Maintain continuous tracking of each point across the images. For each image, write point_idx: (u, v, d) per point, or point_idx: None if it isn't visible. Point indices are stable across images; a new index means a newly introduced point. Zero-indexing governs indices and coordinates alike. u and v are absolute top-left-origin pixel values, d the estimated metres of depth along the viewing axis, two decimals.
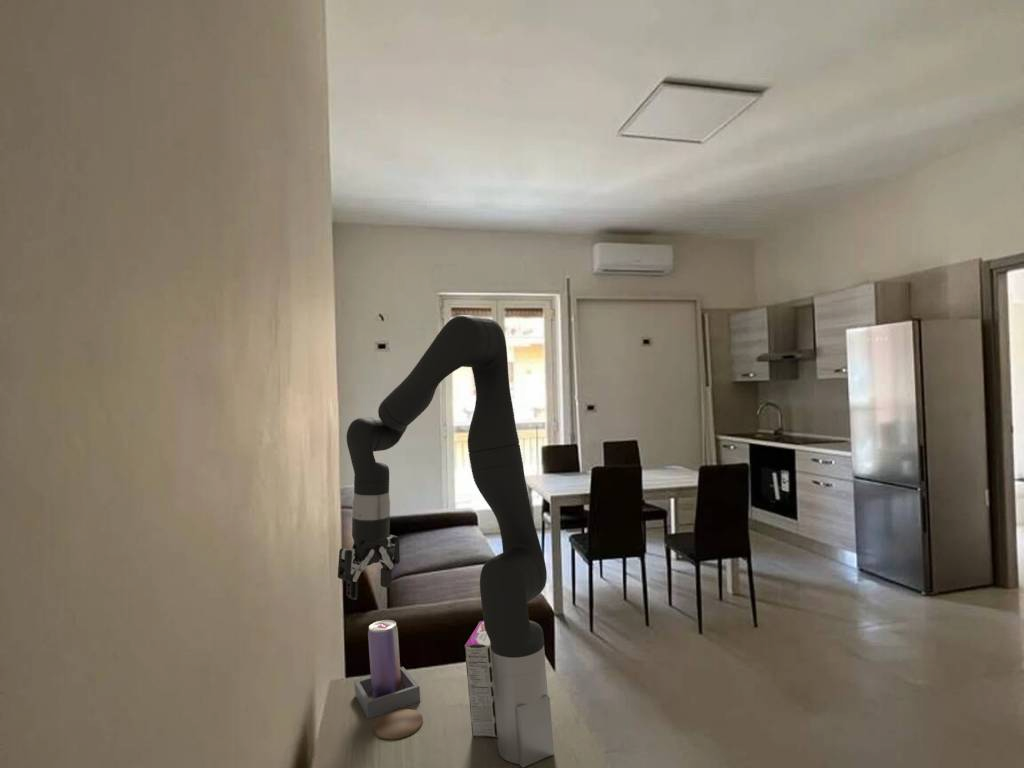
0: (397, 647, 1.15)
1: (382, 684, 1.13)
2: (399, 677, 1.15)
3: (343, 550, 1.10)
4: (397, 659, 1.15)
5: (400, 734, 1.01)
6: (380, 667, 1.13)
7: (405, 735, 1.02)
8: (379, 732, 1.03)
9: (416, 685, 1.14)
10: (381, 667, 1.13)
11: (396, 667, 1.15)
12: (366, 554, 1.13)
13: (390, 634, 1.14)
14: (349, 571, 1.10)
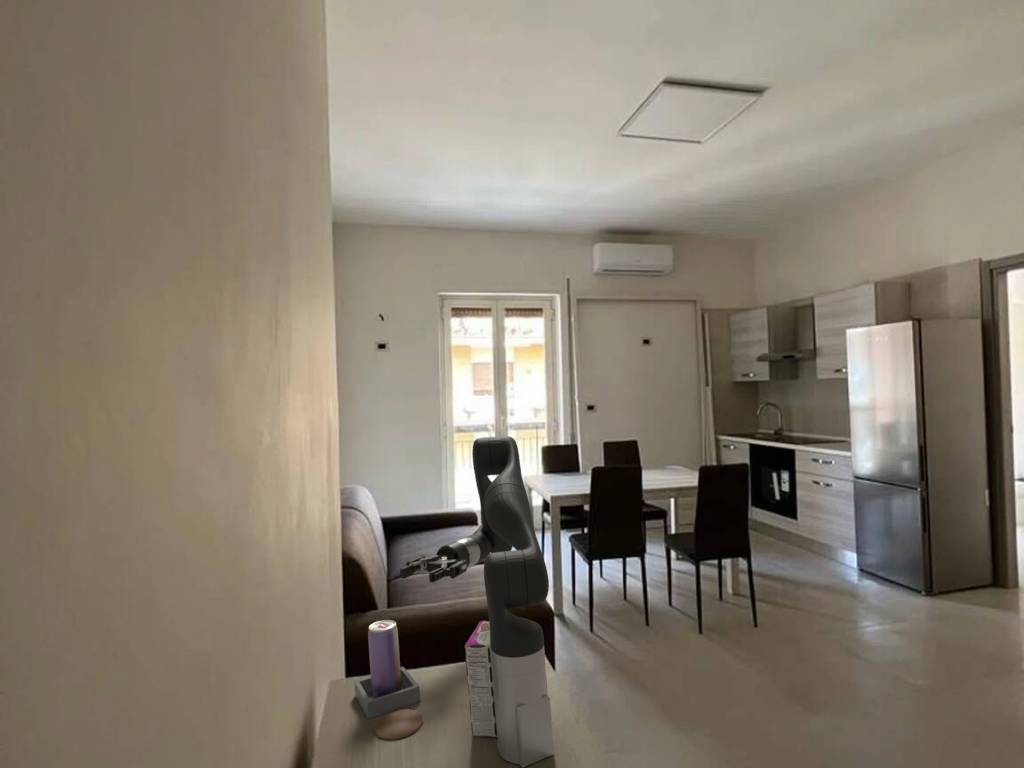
0: (397, 647, 1.15)
1: (382, 684, 1.13)
2: (399, 677, 1.15)
3: None
4: (397, 659, 1.15)
5: (400, 734, 1.01)
6: (380, 667, 1.13)
7: (405, 735, 1.02)
8: (379, 732, 1.03)
9: (416, 685, 1.14)
10: (381, 667, 1.13)
11: (396, 667, 1.15)
12: None
13: (390, 633, 1.14)
14: (412, 560, 1.34)
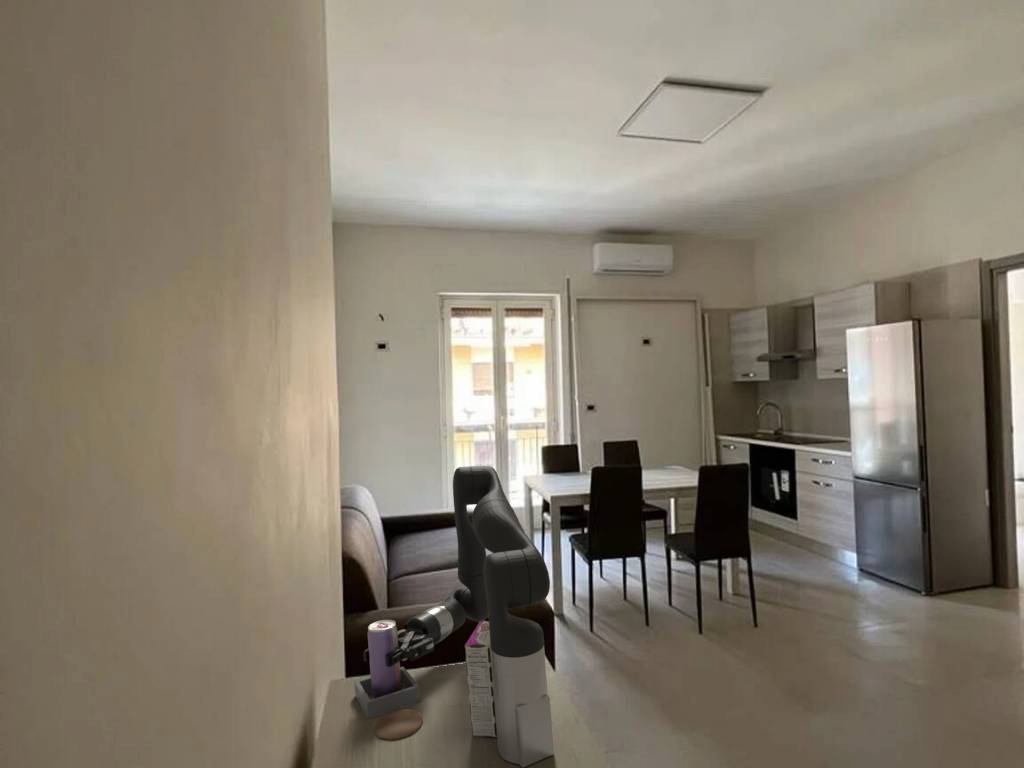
0: (396, 647, 1.15)
1: (382, 684, 1.13)
2: (399, 677, 1.15)
3: None
4: None
5: (400, 734, 1.01)
6: (380, 667, 1.13)
7: (405, 735, 1.02)
8: (379, 732, 1.03)
9: (416, 685, 1.14)
10: (381, 667, 1.13)
11: (396, 666, 1.15)
12: None
13: (389, 633, 1.14)
14: None
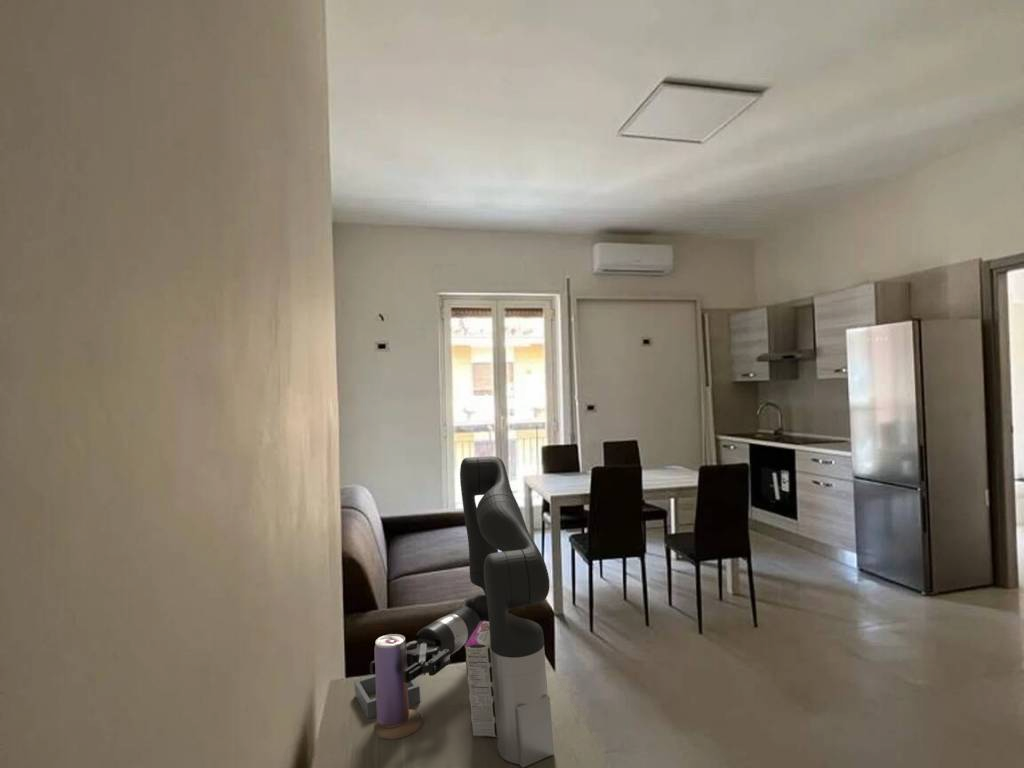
0: (405, 665, 1.06)
1: (388, 705, 1.03)
2: (406, 698, 1.06)
3: None
4: None
5: (400, 734, 1.01)
6: (386, 687, 1.04)
7: (405, 735, 1.02)
8: (379, 732, 1.03)
9: (416, 685, 1.14)
10: (387, 687, 1.04)
11: (403, 686, 1.05)
12: None
13: (397, 650, 1.05)
14: None
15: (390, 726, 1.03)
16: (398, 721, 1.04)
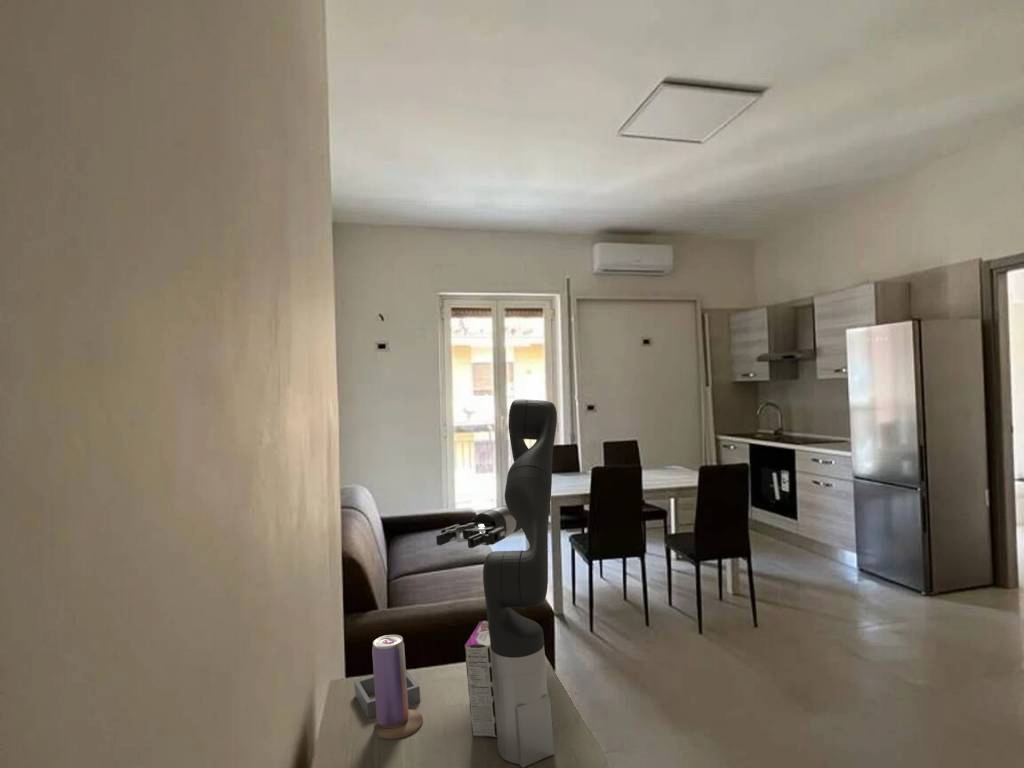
0: (403, 665, 1.06)
1: (387, 705, 1.03)
2: (405, 698, 1.06)
3: None
4: (403, 678, 1.06)
5: (400, 734, 1.01)
6: (385, 687, 1.04)
7: (405, 735, 1.02)
8: (379, 732, 1.03)
9: (416, 685, 1.14)
10: (386, 687, 1.04)
11: (402, 686, 1.05)
12: None
13: (395, 650, 1.05)
14: (448, 528, 1.29)
15: (390, 726, 1.03)
16: (397, 721, 1.04)
